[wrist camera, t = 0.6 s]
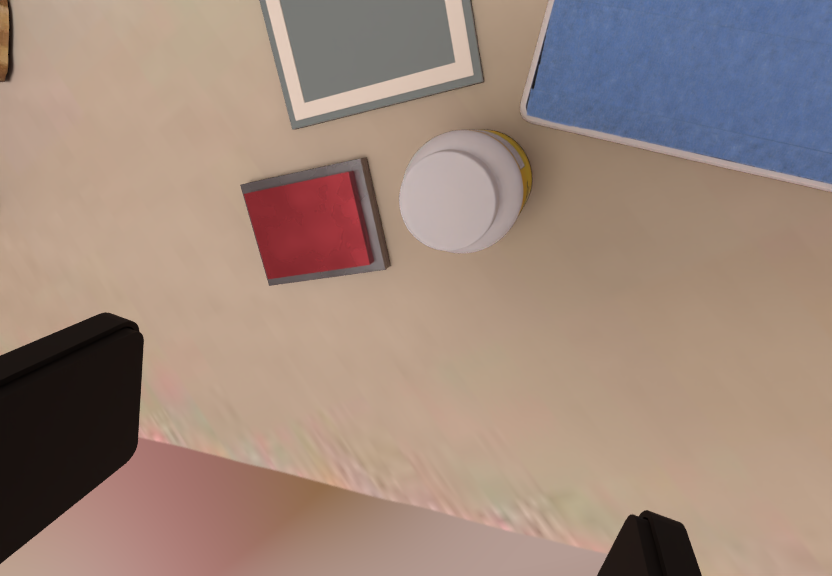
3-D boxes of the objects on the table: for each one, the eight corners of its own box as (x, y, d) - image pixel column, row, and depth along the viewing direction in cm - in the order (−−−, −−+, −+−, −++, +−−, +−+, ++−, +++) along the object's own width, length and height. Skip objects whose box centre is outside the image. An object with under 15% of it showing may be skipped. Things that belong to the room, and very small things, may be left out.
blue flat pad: (516, 119, 33) (514, 119, 32) (578, -111, 29) (578, -121, 27) (843, 195, 29) (855, 198, 28) (974, -57, 25) (994, -66, 24)
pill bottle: (463, 241, 36) (418, 291, 25) (421, 158, 35) (356, 173, 24) (550, 200, 33) (540, 235, 23) (507, 109, 33) (475, 102, 22)
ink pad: (366, 157, 36) (355, 159, 34) (390, 265, 38) (380, 272, 36) (249, 183, 39) (233, 186, 37) (277, 281, 41) (262, 289, 39)
